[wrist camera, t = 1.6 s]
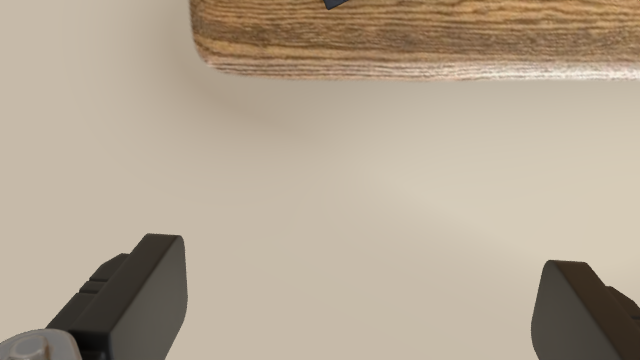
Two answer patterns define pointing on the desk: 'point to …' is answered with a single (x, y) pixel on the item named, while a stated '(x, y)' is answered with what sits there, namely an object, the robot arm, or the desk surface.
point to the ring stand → (333, 3)
